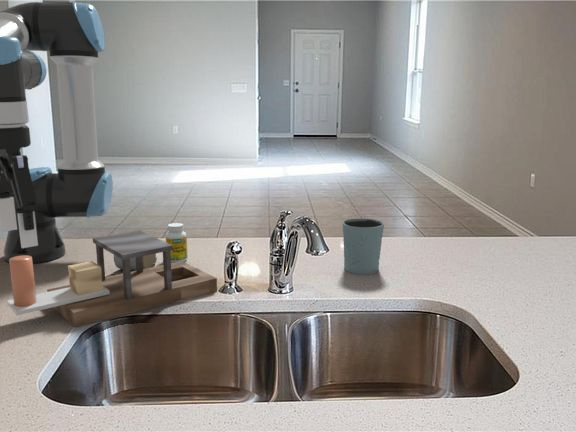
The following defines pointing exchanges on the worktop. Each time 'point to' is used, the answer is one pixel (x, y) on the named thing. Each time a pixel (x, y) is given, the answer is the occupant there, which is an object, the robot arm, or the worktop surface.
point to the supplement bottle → (177, 242)
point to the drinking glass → (362, 245)
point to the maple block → (85, 278)
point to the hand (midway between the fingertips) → (19, 238)
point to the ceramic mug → (147, 262)
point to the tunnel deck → (137, 280)
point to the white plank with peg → (27, 297)
